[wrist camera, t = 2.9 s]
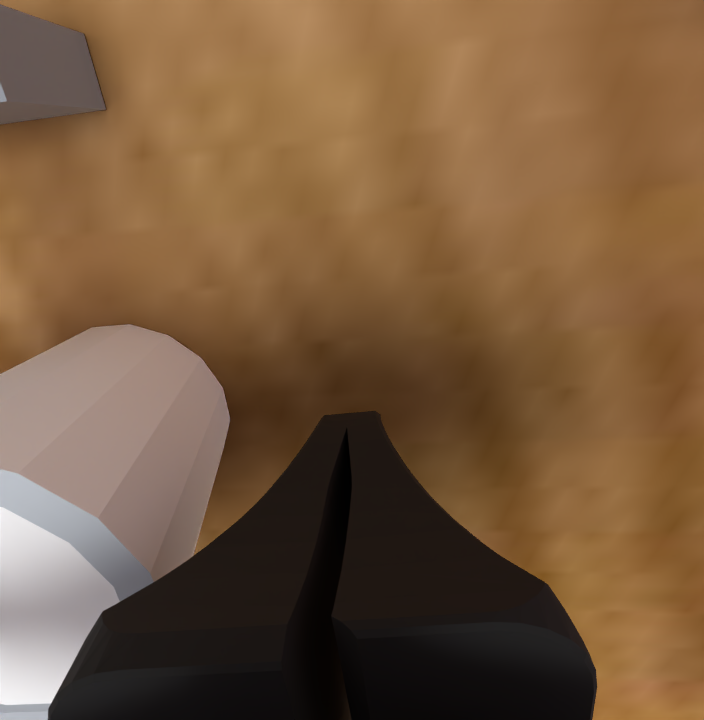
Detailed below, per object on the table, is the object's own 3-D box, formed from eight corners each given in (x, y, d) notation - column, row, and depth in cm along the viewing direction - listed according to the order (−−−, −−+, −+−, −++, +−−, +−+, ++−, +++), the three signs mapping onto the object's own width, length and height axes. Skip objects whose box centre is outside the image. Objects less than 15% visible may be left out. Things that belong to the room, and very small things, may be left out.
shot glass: (0, 446, 16) (-249, 662, 9) (53, 258, 13) (-244, 378, 7) (202, 527, 17) (105, 767, 10) (287, 370, 14) (227, 563, 8)
